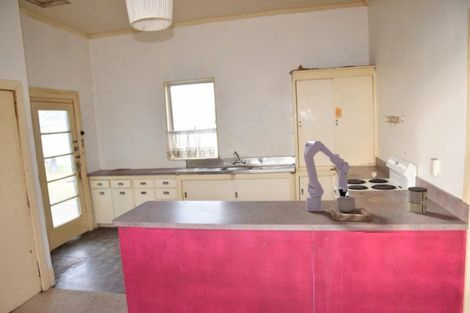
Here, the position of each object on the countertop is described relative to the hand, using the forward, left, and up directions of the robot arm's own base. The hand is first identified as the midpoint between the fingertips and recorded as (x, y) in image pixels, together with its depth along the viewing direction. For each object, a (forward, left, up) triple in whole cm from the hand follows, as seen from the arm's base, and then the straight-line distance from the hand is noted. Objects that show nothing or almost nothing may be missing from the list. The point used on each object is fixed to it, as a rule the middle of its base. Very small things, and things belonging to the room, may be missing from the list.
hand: (342, 200), depth 204 cm
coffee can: (+42, -8, -5) cm, 43 cm away
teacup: (0, -8, -5) cm, 9 cm away
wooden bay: (0, -21, -4) cm, 21 cm away
